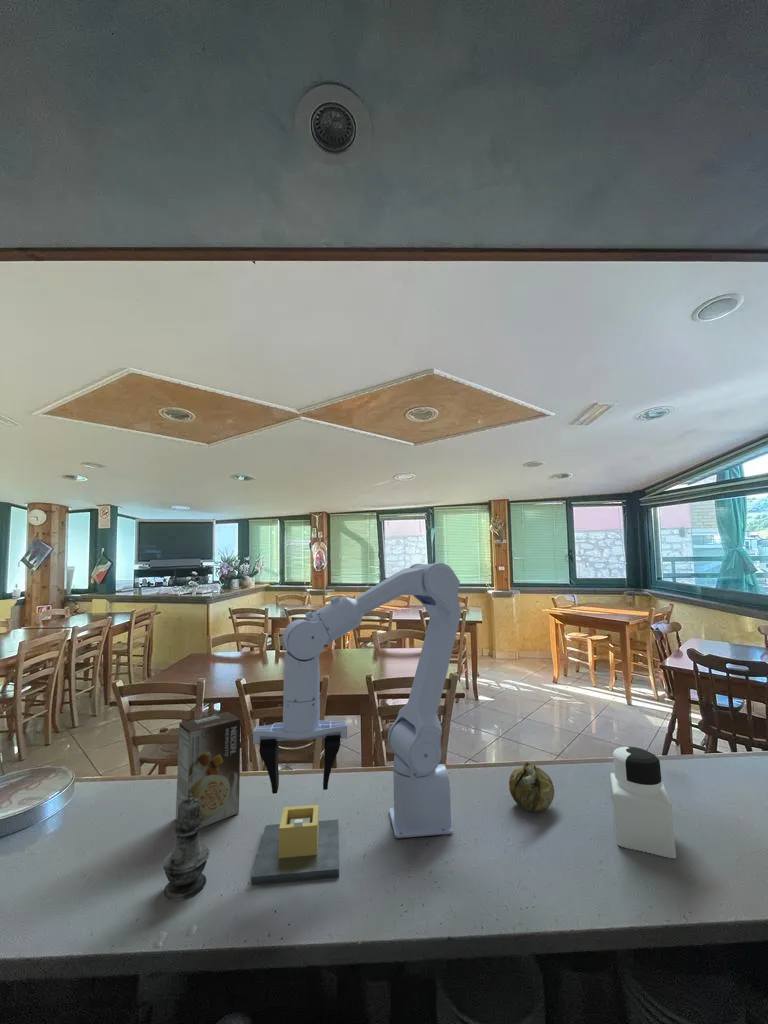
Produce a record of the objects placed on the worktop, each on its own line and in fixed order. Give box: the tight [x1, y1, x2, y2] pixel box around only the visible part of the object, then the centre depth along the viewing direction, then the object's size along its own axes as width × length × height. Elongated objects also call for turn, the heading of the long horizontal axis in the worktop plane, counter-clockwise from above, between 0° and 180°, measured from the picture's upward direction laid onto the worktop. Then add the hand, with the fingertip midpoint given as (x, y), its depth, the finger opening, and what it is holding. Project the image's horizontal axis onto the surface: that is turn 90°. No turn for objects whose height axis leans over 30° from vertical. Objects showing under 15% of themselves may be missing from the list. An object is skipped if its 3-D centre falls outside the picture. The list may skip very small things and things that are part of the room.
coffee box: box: [175, 711, 242, 828], centre depth 75 cm, size 9×6×16 cm
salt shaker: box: [162, 792, 211, 902], centre depth 59 cm, size 6×6×12 cm
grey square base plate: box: [250, 818, 340, 886], centre depth 65 cm, size 12×12×4 cm
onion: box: [508, 761, 555, 813], centre depth 77 cm, size 8×8×8 cm
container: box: [609, 746, 677, 860], centre depth 68 cm, size 8×8×13 cm
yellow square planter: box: [279, 804, 320, 858], centre depth 65 cm, size 6×6×5 cm
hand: (300, 788), depth 66 cm, fingers open, 7 cm apart
